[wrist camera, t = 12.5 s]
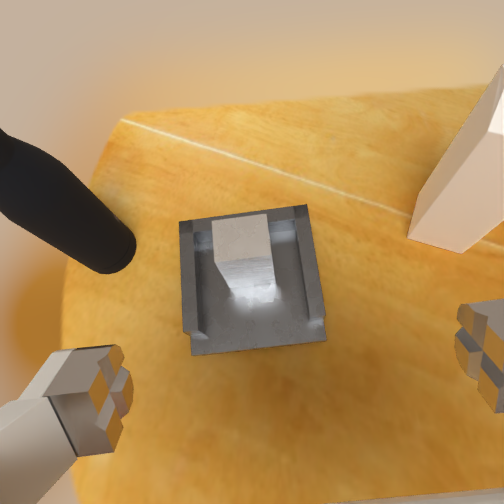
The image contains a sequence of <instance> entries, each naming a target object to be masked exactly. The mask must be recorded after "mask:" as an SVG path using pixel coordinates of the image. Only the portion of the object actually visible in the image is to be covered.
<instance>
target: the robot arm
mask: <svg viewBox="0 0 504 504" xmlns="http://www.w3.org/2000/svg"><path fill="white" fill-rule="evenodd" d="M457 320H458V321H459V322H460V324H461V325H462V326H463V327H462V328H461V329H460V330H459V331H458V332H457V333H456V335H455V351H456V356H457V359H458V361H459V364H460V366H461V368H462V369H463V370H464V372H465V373H466V375H468V376H469V377H471V378H473V379H475V380H477V381H479V382H478V391H479V393H480V394H481V395H482V397H483V398H484V399H485V401H486V402H487V403H488V405H489V406H490V407H491V409H492V410H493V411H494V413H504V299H497V300H489V301H482V302H474V303H466V304H461V305H460V307H459V309H458V314H457ZM123 360H124V355H123V353H122V350H121V348H120V347H119V346H118V345H116V344H114V345H104V346H94V347H83V348H77V349H75V348H73V349H65V350H57V351H55V352H53V353H52V354H51V355H50V356H49V358H48V359H47V360H46V362H45V363H44V365H43V366H42V367H41V369H40V370H39V372H38V373H37V374H36V375H35V377H34V378H33V380H32V381H31V382H30V384H29V385H28V387H27V388H26V389H25V391H24V392H23V393H22V395H21V396H20V397H19V399H18V400H14V401H10V402H9V403H7V404H5V405H4V406H2V407H1V408H0V504H36V503H37V502H38V501H39V500H40V499H41V498H42V497H43V496H44V495H45V494H46V493H47V492H48V490H49V489H50V488H51V487H52V486H53V485H54V484H55V483H56V482H57V480H59V478H60V477H61V476H62V475H63V474H64V473H65V472H66V471H67V470H68V469H69V468H70V467H71V466H72V465H73V463H74V462H75V461H76V460H77V457H82V456H90V455H97V454H105V453H113V452H114V451H115V448H116V446H117V443H118V440H119V438H120V435H121V432H122V430H123V425H122V422H121V420H120V419H121V418H123V417H124V416H125V415H126V414H127V413H128V412H129V410H130V407H131V404H132V401H133V390H134V389H133V382H132V378H131V375H130V372H129V371H128V370H126V369H125V368H124V367H122V366H121V365H122V362H123ZM326 504H504V487H501V488H490V489H479V490H468V491H457V492H446V493H435V494H424V495H413V496H402V497H391V498H381V499H370V500H359V501H348V502H337V503H326Z"/></svg>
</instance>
